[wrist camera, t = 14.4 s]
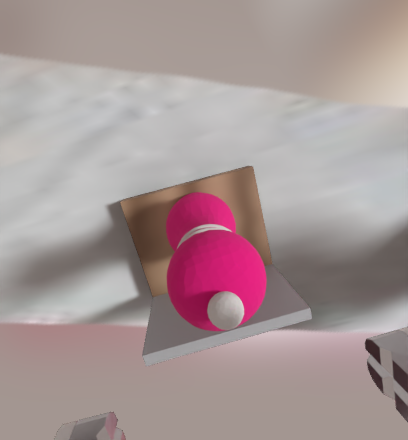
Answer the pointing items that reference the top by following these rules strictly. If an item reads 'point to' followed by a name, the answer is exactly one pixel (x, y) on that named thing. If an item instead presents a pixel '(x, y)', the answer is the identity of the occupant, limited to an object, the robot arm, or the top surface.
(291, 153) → the top surface
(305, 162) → the top surface
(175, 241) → the pepper mill
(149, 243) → the bookend
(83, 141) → the top surface
